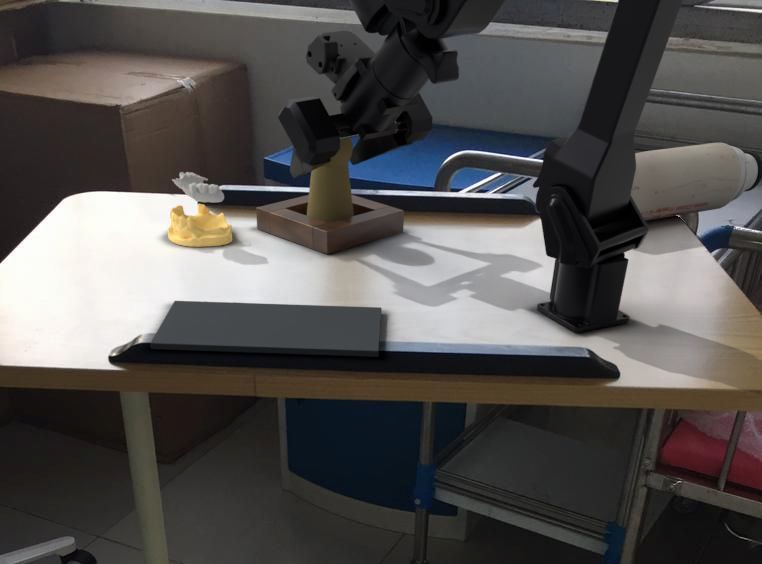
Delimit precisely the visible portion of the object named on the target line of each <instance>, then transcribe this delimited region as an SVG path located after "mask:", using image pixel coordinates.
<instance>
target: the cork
mask: <svg viewBox="0 0 762 564" xmlns="http://www.w3.org/2000/svg"><path fill="white" fill-rule="evenodd" d="M353 148H354V144H353V139H352V138H347V139H342V140H340V150H339V151H338V152H337V154H336V155H335V156H333V157H332V158H330V159H331V162H329V163H327V164H325V165H323V166H321V167H319V168H317V169H314V170H312V171H310V172H311V173H310V181H309V190H308V195H309V198H308V208H307V216H309V217H312V218H315V219H318V220H321V221H324V222H327V223H330V222H334V221H338V220H341V219H345V218H349V217H352V216H354V213H353V204H352V195H353V194H352V187H351V178H350V171H349V170H350V169H349V162H350V159H351V156H352V152H353Z"/></svg>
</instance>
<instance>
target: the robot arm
mask: <svg viewBox="0 0 762 564" xmlns="http://www.w3.org/2000/svg"><path fill="white" fill-rule="evenodd" d="M348 1H349V3H350V5H351V7H352V9H353V11H354V13H355V14H356V16H357V19H358V21H359V23H360V24H361V25H362V27H363V30H364V31H365V32H366V33H368V34H377V33H378V35H379V36H380V37H381V36H383V37H385V36H386V37H385V39H384V40H383V41H382V43H381V44H380V46H379V47H378V48H377V49H376V51H374V50H373V49H372V48H370V47H369V46H368V44H366V43H365V41H363V40H362V39H361V38H360V37H359V36H358V35H357V34H356V33H354V32H352V31H350V30H338V31H337V30H336V31H327V32H322V33H321V34H317V35H315V36H314V38H313V40H312V41H311V42H309V43H308V45H307V50H306V54H305V60H306V64H307V65H309V67H310V68H311V69H312V70H314V72H315V73H317V74H318V75H324V76H325V77H327V78H328V79H329V80H330V81H331V82H332V83H333V84H334V85H333V87H332V89H331V90H330V91H331V94H332V95H333V97H334V100H335V101H337V102H339V101H340V104H341V105H340V107H339V108H340V113H336V114H329V113H328V110H327V108H326V106H325V105H324V103H323V101H322V99H321V98H320V97H316V96H313V95H312V96H306V97H298V98H292V99H287V100H286V101H285V102H284V104H283V105H282V107H281V108H280V110H279V112H278V116H277V118H278V121H279V122H280V124H281V126H282V128H283V130H284V132H285V133H286V135H287V137H288V139H289V141H290V143H291V145H292V146H293V147H292V148H293V149H292V153H291V160H290V164H289V165H290V166H289V173H290V175H291V177H292V178H293V179H297V178H299V177H303V176H304V175H306V174H308V173H310V172H311V171H312V170H314V169H317V168H319V167H321V166H323V165H325V164H327V163H329V162H331V159H330V158H332V157H333V156H335V155H336V154H337V152H338V151H339V150H340V140H342V139H347V138H351V139H352V138H357V137H359V138H358V140H357V141H356V143H355V145H353V152H352V156H351V159H350V160H349V162H350V163H351V165H352V166H355V165H358V164H361V163H364V162H367V161H369V160H371V159H374V158H377V157H379V156H382V155H385V154H387V153H390V152H393V151H396V150H399V149H402V148H405V147H408V146H411V145H413V144H414V143H415V142H419V141H423V140H425V138H426V137H427V136H428V135H429V134H430V133H431V132H432V130H433V116H432V114H431V112H430V110H429V108H428V106H427V104H426V103H425V101H424V99H423V96H422V95H421V93H420V91H422V89H423V88H424V87H425V85H426V84H427V83H428V82H429V81H430V82H431V84H432V85H436V84H437V85H438V84H442V83H449V82H456V81H458V80H459V79H460V67H459V63H458V55H459V53H458V50H456V49H453V50H452V49H450V47H449V45H448V44H447V42H446V40H445V39H449V38H459V37H464V36H465V37H467V36H474V35H477V34H480V33H482V32H483V31H485V30H486V29H487V28H488V26H489V25H490V24H491V22H492V20H493V19H494V17H495V16H496V15H497V13H498V12H499V10H500V9H501V7H502V5H503V4H504V3H505V2H506V0H348ZM616 3H617V4H616V6H615V9H614V13H613V15H612V18H611V22H610V25H609V29H608V31H607V34H606V37H605V40H604V43H603V47H602V50H601V53H600V57H599V60H598V63H597V66H596V69H595V71H594V75H593V78H592V81H591V84H590V88H589V91H588V94H587V98H586V100H585V104H584V106H583V110H582V113H581V116H580V120H579V122H578V124H577V125H576V127H575V129H574V130H573V131H572V133H571V134H570V135H569V136H564V137H559V138H556V139H552V140H549V141H548V142H547V144H546V147H545V149H544V151H543V158H542V163H541V164H542V165H541V168H540V172H539V174H538V176H537V178H536V180H535V181H534V182H533V184H532V188H534V189H537V188H538V189H537V192H536V195H535V201H534V203H535V204H534V205H535V211H536V213H537V214H538V216H539V218H540V221H541V229H542V235H543V236H542V237H543V243H544V249H545V255H546V256H547V257H549V258H552V259H555V260H554V265H553V272H552V280H551V286H550V291H549V292H550V293H549V301H545V302H540V303H538V304H536V310H537V311H539V312H541V313H543V314H544V315H545V316H547V317H548V318H550V319H553V320H554V321H555V322H557V323H560V324H561V325H563V326H564V327H566V328H568V329H569V330H571V331H573V332H577V333H580V332H586V331H590V330H594V329H600V328H605V327H610V326H615V325H619V324H624V323H629V322H630V318H631V316H630V315H629V314H627V313H625V312H623V311H621V310H620V306H621V300H622V296H623V292H624V291H623V290H624V285H625V279H626V276H627V270H628V265H629V258H627V257H625V256H626V254H625V253H627V252H630V251H631V250H636V249H639V248H641V246H642V244H643V242H644V241H645V239H646V237H647V235H648V234H649V231H650V227H649V225H648V223H647V221H645V220H644V218H643V216H642V214H641V213H640V211H639V209H638V207H637V205H636V204H635V202H634V200H633V198H632V196H631V190H632V185H633V181H634V176H635V171H636V157H635V153H636V147H635V134H636V130H637V127H638V125H639V122H640V119H641V116H642V114H643V111H644V108H645V106H646V102H647V100H648V97H649V94H650V93H651V92H650V91H651V89H652V86H653V84H654V81H655V78H656V75H657V72H658V70H659V67H660V64H661V62H662V59H663V56H664V53H665V50H666V48H667V45H668V42H669V39H670V36H671V34H672V31H673V28H674V25H675V23H676V20H677V18H678V15H679V12H680V10H681V6H682V3H683V0H617V2H616Z"/></svg>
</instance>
